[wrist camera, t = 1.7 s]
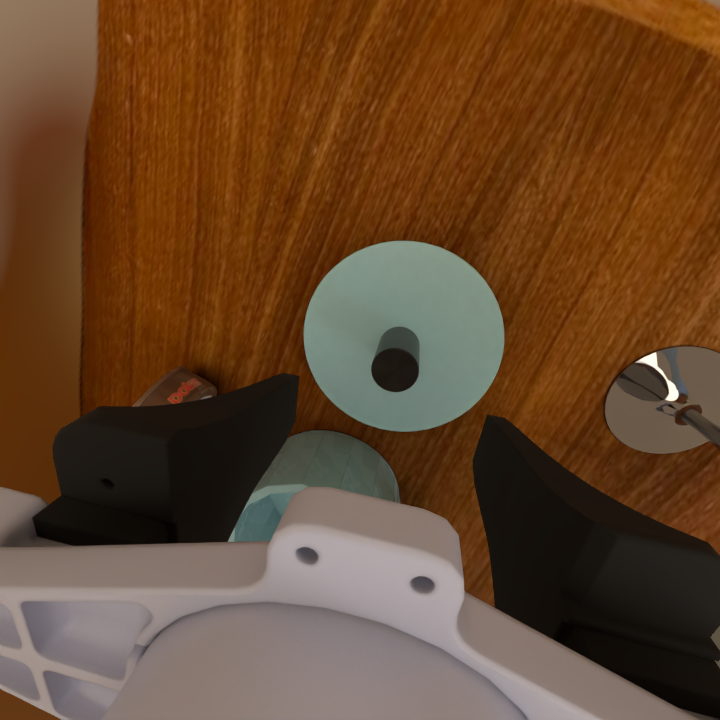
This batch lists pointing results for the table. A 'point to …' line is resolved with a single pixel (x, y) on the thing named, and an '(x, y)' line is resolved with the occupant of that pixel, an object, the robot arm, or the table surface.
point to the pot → (313, 478)
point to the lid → (403, 336)
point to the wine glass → (667, 401)
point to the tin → (177, 389)
